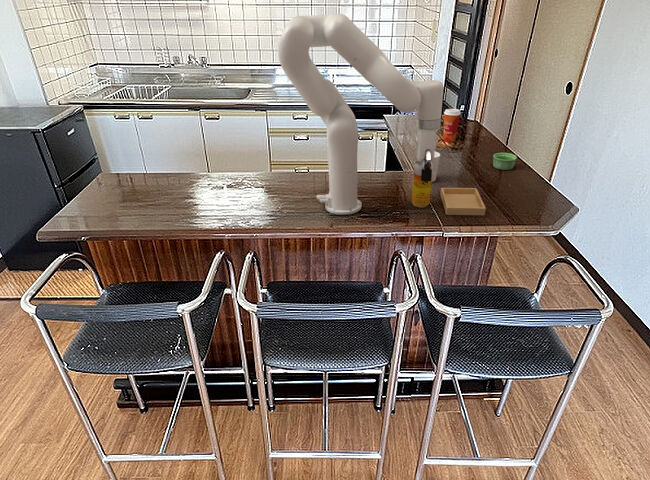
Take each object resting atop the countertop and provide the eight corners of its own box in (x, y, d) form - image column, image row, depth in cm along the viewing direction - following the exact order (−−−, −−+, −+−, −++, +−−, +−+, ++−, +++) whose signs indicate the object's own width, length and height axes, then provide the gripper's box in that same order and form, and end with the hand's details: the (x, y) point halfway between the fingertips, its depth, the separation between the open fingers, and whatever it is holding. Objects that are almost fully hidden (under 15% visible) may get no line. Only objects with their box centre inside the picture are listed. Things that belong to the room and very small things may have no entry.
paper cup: (438, 138, 212) (441, 109, 204) (452, 137, 214) (455, 107, 206) (446, 143, 206) (449, 113, 198) (460, 141, 207) (464, 111, 200)
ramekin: (517, 170, 175) (520, 159, 173) (495, 170, 175) (497, 160, 173) (510, 162, 183) (512, 152, 180) (489, 163, 183) (490, 152, 180)
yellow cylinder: (415, 209, 148) (419, 167, 140) (408, 202, 153) (411, 160, 145) (432, 206, 149) (436, 164, 141) (424, 199, 154) (428, 158, 146)
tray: (446, 214, 144) (447, 207, 143) (440, 194, 158) (441, 187, 156) (484, 215, 143) (485, 208, 142) (475, 194, 157) (476, 188, 155)
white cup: (436, 175, 173) (439, 150, 167) (438, 183, 166) (441, 157, 161) (416, 175, 174) (418, 150, 168) (417, 182, 167) (419, 157, 162)
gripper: (414, 116, 144) (411, 166, 153) (418, 131, 129) (415, 185, 139) (437, 115, 143) (433, 165, 152) (443, 131, 128) (439, 185, 138)
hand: (424, 175), depth 145 cm, fingers open, 9 cm apart
